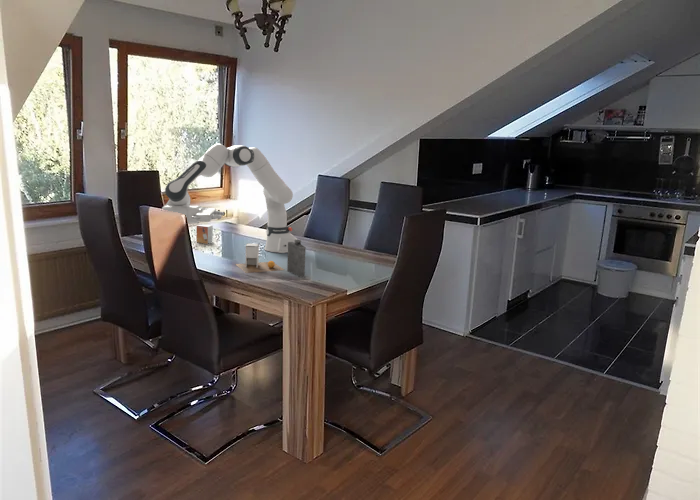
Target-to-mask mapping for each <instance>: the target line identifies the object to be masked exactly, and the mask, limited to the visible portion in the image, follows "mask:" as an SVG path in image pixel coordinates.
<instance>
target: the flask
mask: <svg viewBox="0 0 700 500" xmlns="http://www.w3.org/2000/svg"><path fill="white" fill-rule="evenodd" d="M286 263H287V266H286V267H287V268H286V269H287V270H286V272H289V273H291V274H294V275H295V276H297V277H299V278H304V277H305V273H306V271H305V270H306V269H305V268H306V246H304V245H303V244H302V240H301V239H298V240H295V242H288V252H287V262H286Z"/></svg>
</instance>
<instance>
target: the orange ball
mask: <svg viewBox="0 0 700 500" xmlns="http://www.w3.org/2000/svg"><path fill="white" fill-rule="evenodd" d="M267 262H268V267H270V268H273V267H274V266H275V264H276V263H275V262H274V261H273V260H269V261H267Z"/></svg>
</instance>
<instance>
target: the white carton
mask: <svg viewBox="0 0 700 500" xmlns="http://www.w3.org/2000/svg"><path fill="white" fill-rule="evenodd" d="M259 250H260V244H259V243H250V242H249V243H246V244H245V263H246V267H247V265H257V267H258V265H259V263H260V261H259V256H260V255H259V254H260V253H259V252H260V251H259Z"/></svg>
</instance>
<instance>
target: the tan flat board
mask: <svg viewBox="0 0 700 500" xmlns="http://www.w3.org/2000/svg"><path fill="white" fill-rule="evenodd" d="M268 262H269V261H262V262H260V261H259V265H258V267H257V265H247V267H246V262H244V263H236V264H234V265H235V266H237V267H238V268H239V269H240V270H242V272H244V273H245V274H251V273H254V274H255V273H263V272H264V273H267V272H275V271H276V272H278V271H285V269H284V268H283V267H281V266H280V265H278V264H277V263H275V266H274V267H273V268H270V267H268Z"/></svg>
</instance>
